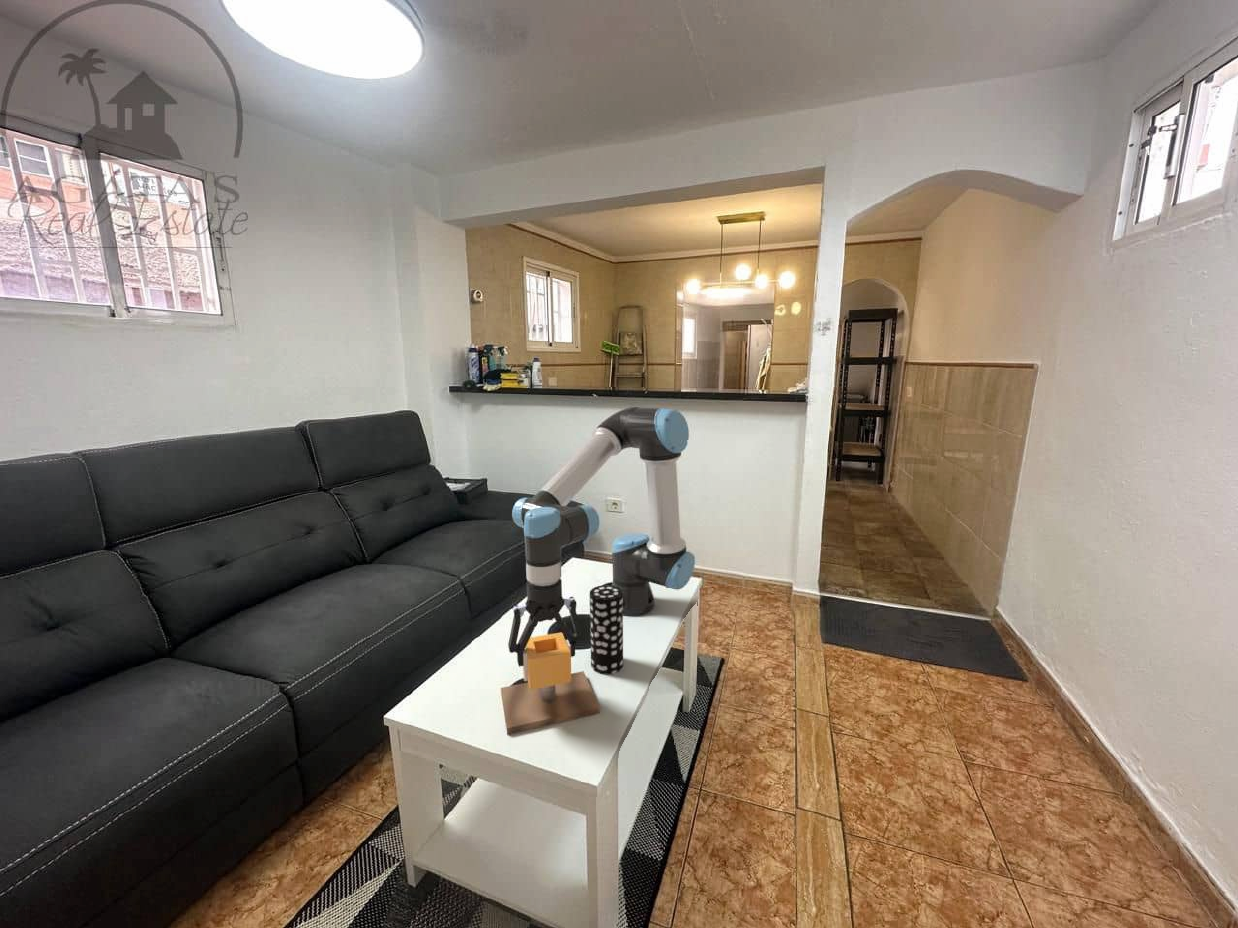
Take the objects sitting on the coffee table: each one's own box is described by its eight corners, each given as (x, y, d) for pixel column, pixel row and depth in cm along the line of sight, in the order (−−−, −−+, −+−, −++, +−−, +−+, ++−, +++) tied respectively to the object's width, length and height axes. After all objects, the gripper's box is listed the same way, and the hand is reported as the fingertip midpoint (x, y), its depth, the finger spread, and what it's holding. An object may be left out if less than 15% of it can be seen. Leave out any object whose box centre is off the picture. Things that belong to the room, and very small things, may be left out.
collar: (562, 659, 116) (561, 632, 114) (571, 681, 107) (570, 652, 106) (524, 666, 113) (523, 638, 111) (530, 690, 104) (528, 660, 103)
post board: (583, 676, 121) (582, 635, 119) (599, 713, 108) (598, 668, 106) (501, 693, 115) (498, 650, 113) (507, 734, 102) (504, 687, 100)
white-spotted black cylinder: (599, 677, 120) (598, 602, 117) (585, 660, 128) (584, 589, 124) (628, 668, 124) (628, 595, 121) (614, 652, 131) (613, 582, 128)
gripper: (588, 566, 113) (589, 655, 117) (491, 579, 106) (496, 673, 110) (597, 579, 106) (598, 673, 110) (493, 593, 99) (499, 693, 103)
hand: (547, 673), depth 110 cm, fingers closed on collar, 9 cm apart
